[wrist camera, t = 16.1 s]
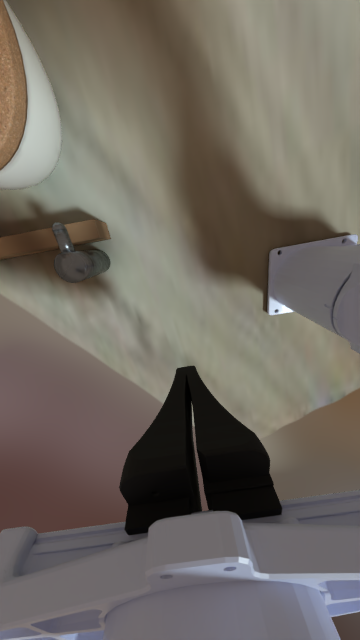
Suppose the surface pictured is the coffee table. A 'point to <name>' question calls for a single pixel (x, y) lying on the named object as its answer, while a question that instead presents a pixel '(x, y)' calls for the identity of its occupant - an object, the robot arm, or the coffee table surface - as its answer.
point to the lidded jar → (25, 110)
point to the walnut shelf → (51, 238)
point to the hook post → (76, 258)
